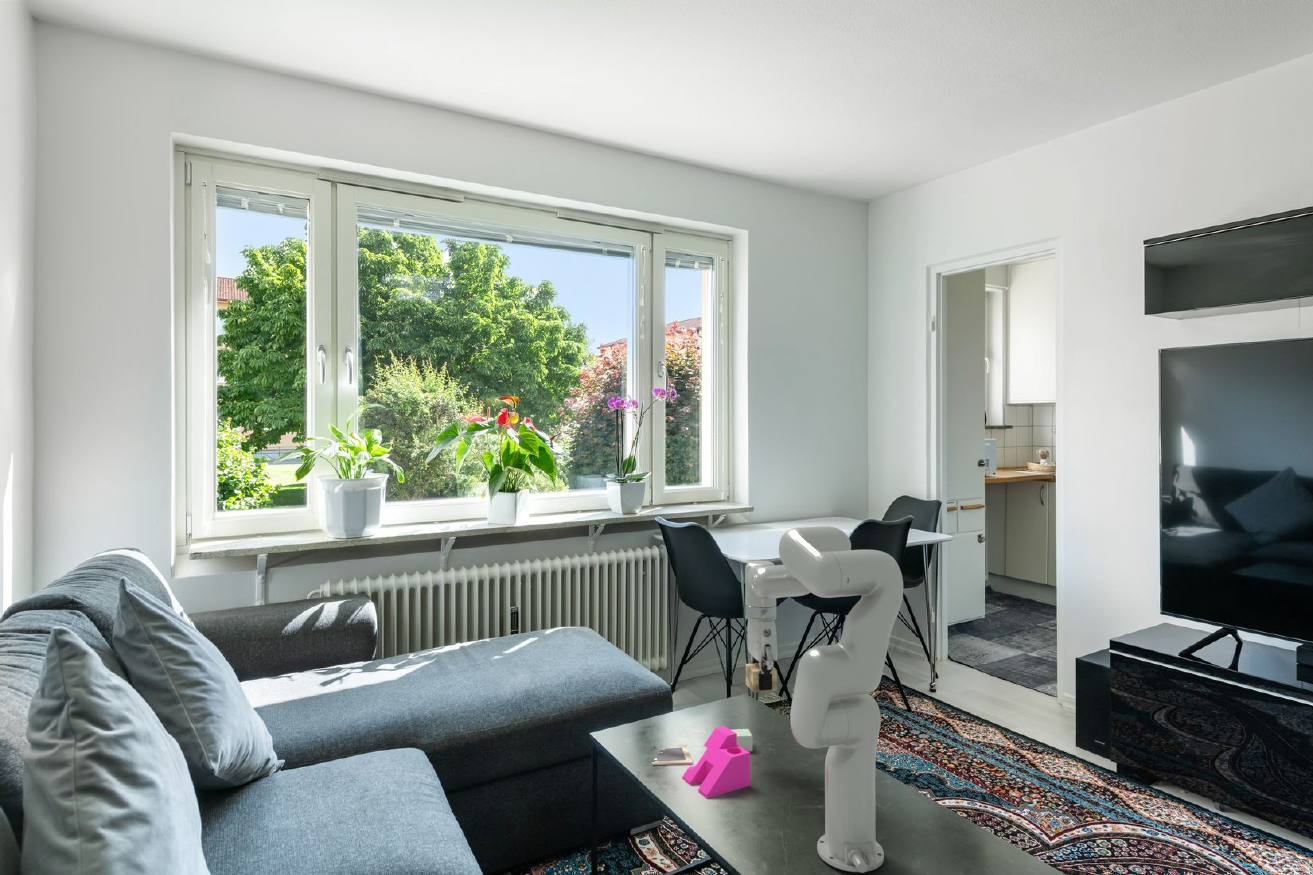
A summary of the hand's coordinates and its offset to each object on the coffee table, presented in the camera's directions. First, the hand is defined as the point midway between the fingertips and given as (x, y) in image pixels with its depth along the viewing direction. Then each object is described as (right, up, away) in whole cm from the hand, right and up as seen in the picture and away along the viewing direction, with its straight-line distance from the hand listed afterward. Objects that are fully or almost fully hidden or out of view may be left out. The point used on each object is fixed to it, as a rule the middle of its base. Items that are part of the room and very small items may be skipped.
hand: (761, 684), depth 177 cm
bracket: (-12, -20, -9) cm, 25 cm away
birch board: (-22, -20, +3) cm, 30 cm away
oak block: (0, -1, 0) cm, 1 cm away
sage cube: (-4, -20, +8) cm, 22 cm away
